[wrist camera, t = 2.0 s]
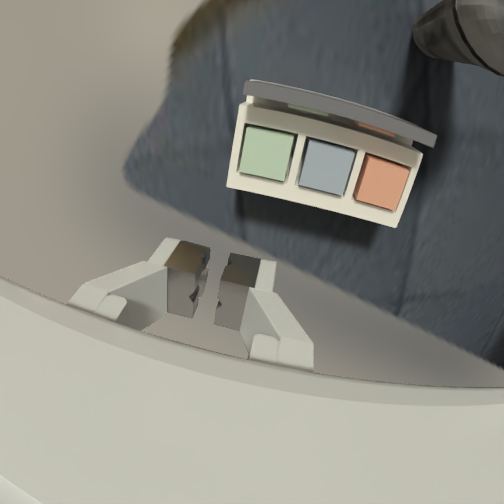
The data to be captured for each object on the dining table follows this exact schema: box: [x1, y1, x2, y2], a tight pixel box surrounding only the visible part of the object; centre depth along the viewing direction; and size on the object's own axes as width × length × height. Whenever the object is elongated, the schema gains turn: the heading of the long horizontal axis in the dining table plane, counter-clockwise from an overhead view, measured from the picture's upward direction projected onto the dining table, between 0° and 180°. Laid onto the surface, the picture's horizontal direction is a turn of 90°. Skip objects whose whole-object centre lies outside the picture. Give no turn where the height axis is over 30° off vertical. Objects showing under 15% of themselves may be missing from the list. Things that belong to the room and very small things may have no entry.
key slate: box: [299, 137, 355, 196], centre depth 24 cm, size 4×4×2 cm
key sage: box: [239, 124, 294, 181], centre depth 24 cm, size 4×4×2 cm
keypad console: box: [226, 80, 437, 228], centre depth 24 cm, size 15×9×8 cm, turn 80°
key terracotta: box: [353, 153, 410, 211], centre depth 24 cm, size 4×4×2 cm
